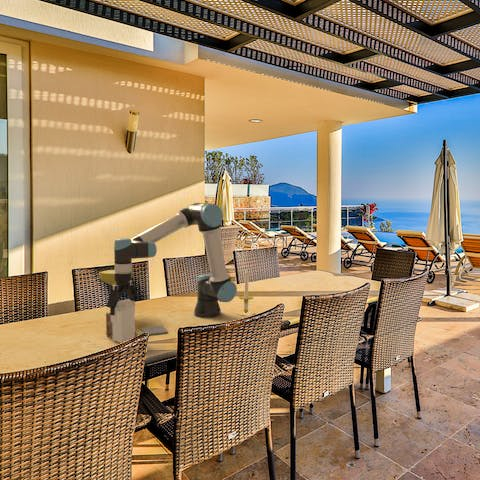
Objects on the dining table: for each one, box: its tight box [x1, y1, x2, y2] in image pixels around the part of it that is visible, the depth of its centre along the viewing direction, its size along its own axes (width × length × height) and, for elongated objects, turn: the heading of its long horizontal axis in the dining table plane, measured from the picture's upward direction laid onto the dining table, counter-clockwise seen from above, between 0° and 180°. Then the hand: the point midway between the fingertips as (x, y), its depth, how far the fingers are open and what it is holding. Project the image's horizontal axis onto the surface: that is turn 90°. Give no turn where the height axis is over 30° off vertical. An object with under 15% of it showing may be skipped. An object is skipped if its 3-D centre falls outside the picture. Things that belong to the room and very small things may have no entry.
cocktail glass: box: [98, 267, 134, 286], centre depth 233 cm, size 18×18×25 cm
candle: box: [238, 268, 255, 313], centre depth 240 cm, size 10×10×27 cm
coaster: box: [140, 324, 169, 336], centre depth 207 cm, size 11×11×1 cm
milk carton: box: [112, 298, 136, 344], centre depth 192 cm, size 7×7×19 cm
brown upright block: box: [105, 312, 113, 338], centre depth 201 cm, size 13×5×11 cm, turn 114°
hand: (123, 318), depth 192 cm, fingers open, 13 cm apart
